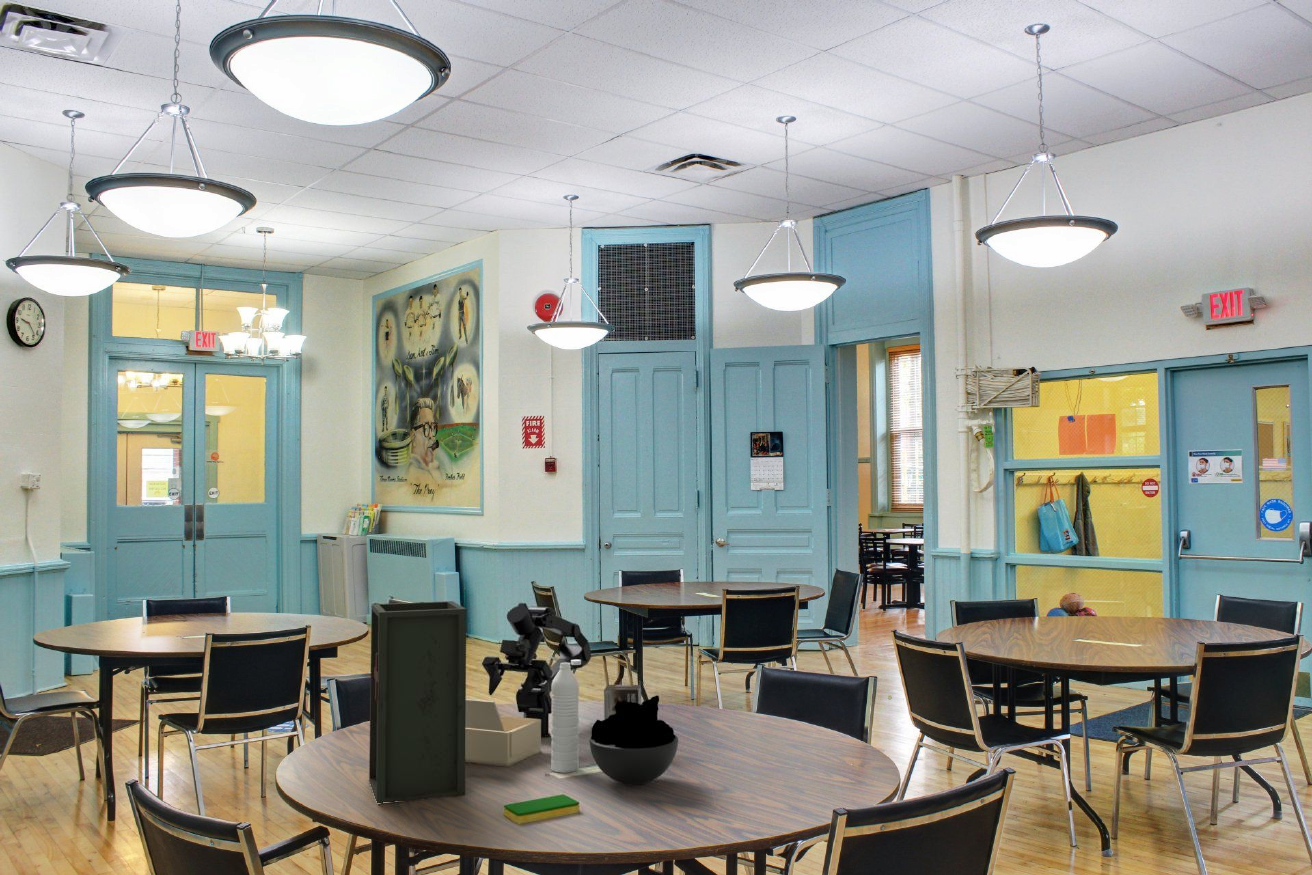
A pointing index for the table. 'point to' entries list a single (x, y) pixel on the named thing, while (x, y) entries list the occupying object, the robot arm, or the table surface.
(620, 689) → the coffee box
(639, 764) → the bowl of black rocks
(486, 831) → the table surface
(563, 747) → the water bottle
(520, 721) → the carton
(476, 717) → the far flap
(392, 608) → the dark green square bin
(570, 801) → the dish sponge
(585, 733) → the table surface
